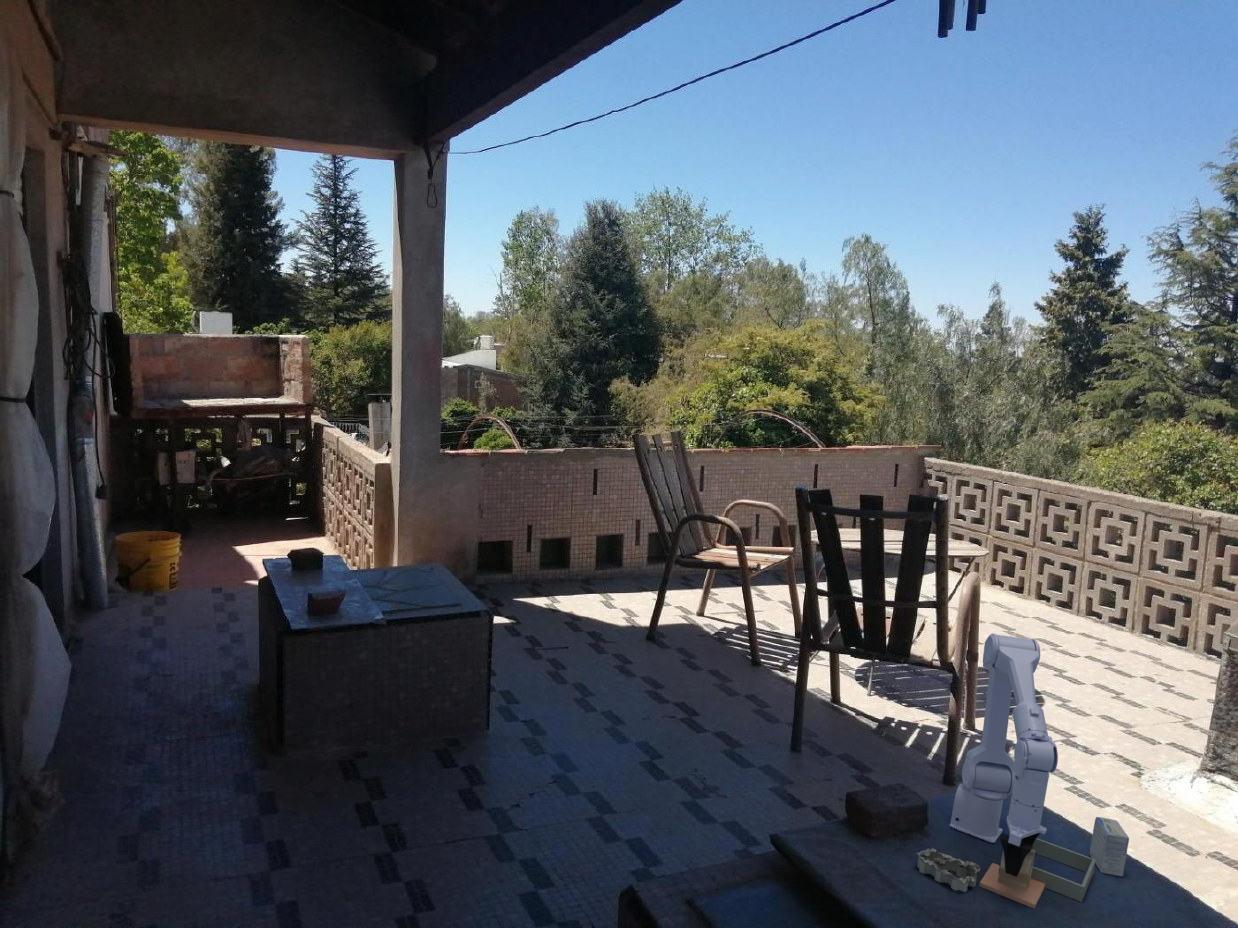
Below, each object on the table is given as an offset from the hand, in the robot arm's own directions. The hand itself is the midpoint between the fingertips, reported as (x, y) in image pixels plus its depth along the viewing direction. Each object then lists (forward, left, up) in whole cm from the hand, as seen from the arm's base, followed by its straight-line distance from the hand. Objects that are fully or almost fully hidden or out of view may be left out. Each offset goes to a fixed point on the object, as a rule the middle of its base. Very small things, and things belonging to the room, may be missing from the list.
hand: (1015, 866), depth 179 cm
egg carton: (-11, -6, -5) cm, 14 cm away
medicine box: (+13, +25, -4) cm, 29 cm away
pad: (0, 0, -4) cm, 4 cm away
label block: (0, 0, -3) cm, 3 cm away
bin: (+5, +12, -4) cm, 14 cm away
